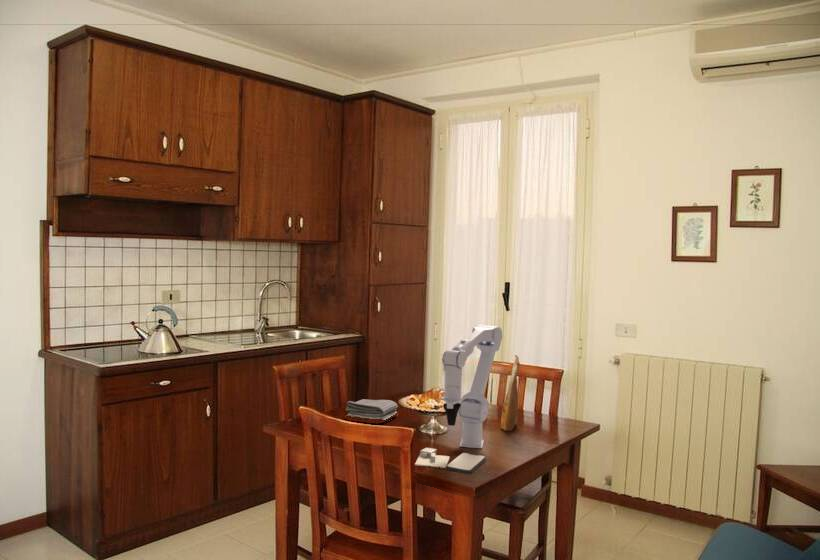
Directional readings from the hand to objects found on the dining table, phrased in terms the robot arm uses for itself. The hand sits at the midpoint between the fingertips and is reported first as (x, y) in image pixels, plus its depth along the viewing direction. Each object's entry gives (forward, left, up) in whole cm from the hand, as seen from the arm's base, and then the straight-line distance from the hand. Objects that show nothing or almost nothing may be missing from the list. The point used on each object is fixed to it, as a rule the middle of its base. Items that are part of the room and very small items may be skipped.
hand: (451, 425), depth 216 cm
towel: (-39, -37, -11) cm, 55 cm away
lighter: (+1, -5, -9) cm, 11 cm away
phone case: (+8, +6, -11) cm, 15 cm away
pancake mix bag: (-44, +19, -11) cm, 49 cm away
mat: (+8, -5, -10) cm, 14 cm away
